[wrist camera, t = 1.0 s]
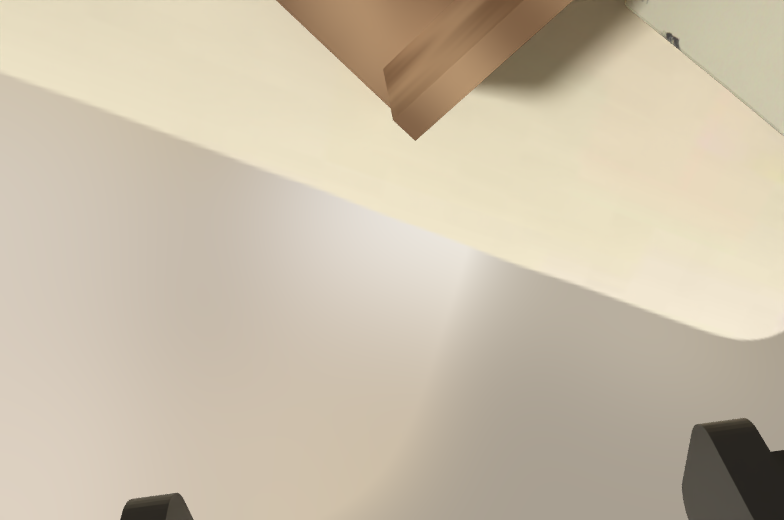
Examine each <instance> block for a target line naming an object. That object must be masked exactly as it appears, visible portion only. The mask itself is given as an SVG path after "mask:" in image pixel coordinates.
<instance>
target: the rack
mask: <svg viewBox="0 0 784 520" xmlns="http://www.w3.org/2000/svg"><path fill="white" fill-rule="evenodd" d="M276 1H278V2H279V3H280V4H281V5H282V6H283V7H284V8H285V9H286V10H287V11H288V12H289V13H290V14H291V15H292V16H293V17H294V18H296V19H297V20H298V21H299V22H300V23H301V24H302V25H303V26H304V27H305V28H306V29H307V30H308V31H309V32H310V33H311V34H312V35H314V36H315V37H316V38H317V39H318V40H319V41H320V42H321V43H322V44H323V45H324V46H325V47H326V48H327V49H328V50H329V51H330V52H332V53H333V54H334V55H335V56H336V57H337V58H338V59H339V60H340V61H341V62H342V63H343V64H344V65H345V66H346V67H347V68H348V69H350V70H351V71H352V72H353V73H354V74H355V75H356V76H357V77H358V78H359V79H360V80H361V81H362V82H363V83H364V84H365V85H366V86H368V87H369V88H370V89H371V90H372V91H373V92H374V93H375V94H376V95H377V96H378V97H379V98H380V99H381V100H382V101H383V102H384V103H386V104H387V105H388V106H389V107H390V108H391V112H392V117H393V120H394V121H395V122H396V123H397V124H398V125H399V126H400V127H401V128H402V129H403V130H404V131H405V132H406V133H407V134H409V135H410V136H411V137H412V138H413V139H414V140H415V141H416V140H417V139H418V138H419V137H420V136H421V135H422V134H424V133H425V132H426V131H427V130H428V129H429V128H430V127H431V126H433V125H434V124H435V123H436V122H437V121H438V120H439V119H440V118H442V117H443V116H444V115H445V114H446V113H447V112H448V111H449V110H451V109H452V108H453V107H454V106H455V105H456V104H457V103H458V102H459V101H461V100H462V99H463V98H464V97H465V96H466V95H467V94H468V93H470V92H471V91H472V90H473V89H474V88H475V87H476V86H477V85H479V84H480V83H481V82H482V81H483V80H484V79H485V78H486V77H488V76H489V75H490V74H491V73H492V72H493V71H494V70H495V69H497V68H498V67H499V66H500V65H501V64H502V63H503V62H504V61H505V60H507V59H508V58H509V57H510V56H511V55H512V54H513V53H514V52H516V51H517V50H518V49H519V48H520V47H521V46H522V45H523V44H525V43H526V42H527V41H528V40H529V39H530V38H531V37H532V36H534V35H535V34H536V33H537V32H538V31H539V30H540V29H541V28H542V27H544V26H545V25H546V24H547V23H548V22H549V21H550V20H551V19H553V18H554V17H555V16H556V15H557V14H558V13H559V12H560V11H562V10H563V9H564V8H565V7H566V6H567V5H568V4H569V3H571V2H572V1H573V0H276Z"/></svg>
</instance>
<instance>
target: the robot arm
mask: <svg viewBox="0 0 784 520" xmlns="http://www.w3.org/2000/svg"><path fill="white" fill-rule="evenodd" d="M682 493H683V500H684V505H685V509H686V513H687V516H688V519H689V520H784V450H781V451H774V452H770V450H769V449H768V447H767V445H766V444H765V442H764V440H763V439H762V437H761V435H760V434H759V432H758V430H757V429H756V427H755V426H754V425H753V424H752V422H750V421H749V420H748V419H746V418H740V419H733V420H726V421H718V422H711V423H704V424H697V425H695V426H694V428H693V430H692V434H691V439H690V445H689V450H688V455H687V460H686V466H685V471H684V476H683V483H682ZM120 520H193V518H192V516H191V514H190V511H189V510H188V507H187V505H186V503H185V501H184V499H183V497H182V496H181V495H180V494H179V493H173V494H165V495H159V496H150V497H143V498H136V499H131V500H129V501H128V502H127V503H126V505H125V507H124V509H123V512H122V515H121V519H120Z"/></svg>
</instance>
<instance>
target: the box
mask: <svg viewBox="0 0 784 520" xmlns="http://www.w3.org/2000/svg"><path fill="white" fill-rule="evenodd" d="M625 5H626V6H627V7H628V8H629V9H630V10H631V11H632V12H633V13H635V14H636V15H637V16H638V17H640V18H641V19H642V20H643V21H644V22H646V23H647V24H648V25H649V26H650V27H652V28H653V29H654V30H655V31H656V32H658V33H659V34H660V35H662V36H663V37H664V38H665V39H666V40H668V41H669V42H670V43H671V44H673V45H674V46H675V47H676V48H678V49H679V50H680V51H681V52H682V53H684V54H685V55H686V56H687V57H688V58H689V59H691V60H692V61H693V62H694V63H696V64H697V65H698V66H699V67H700V68H702V69H703V70H704V71H706V72H707V73H708V74H709V75H710V76H712V77H713V78H714V79H715V80H716V81H718V82H719V83H720V84H721V85H723V86H724V87H725V88H726V89H727V90H729V91H730V92H731V93H732V94H733V95H735V96H736V97H737V98H738V99H739V100H741V101H742V102H743V103H744V104H745V105H747V106H748V107H749V108H750V109H752V110H753V111H754V112H755V113H756V114H758V115H759V116H760V117H761V118H762V119H764V120H765V121H766V122H767V123H768V124H770V125H771V126H772V127H773V128H774V129H776V130H777V131H778V132H779V133H781V134H782V135H783V136H784V0H626V1H625Z"/></svg>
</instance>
